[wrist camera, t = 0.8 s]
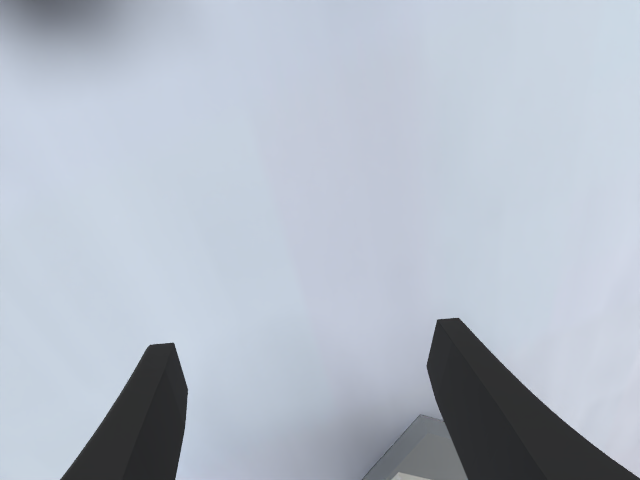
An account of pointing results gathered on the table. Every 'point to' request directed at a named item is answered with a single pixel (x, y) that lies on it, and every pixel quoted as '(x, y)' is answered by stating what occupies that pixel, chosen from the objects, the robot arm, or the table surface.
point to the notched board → (420, 455)
